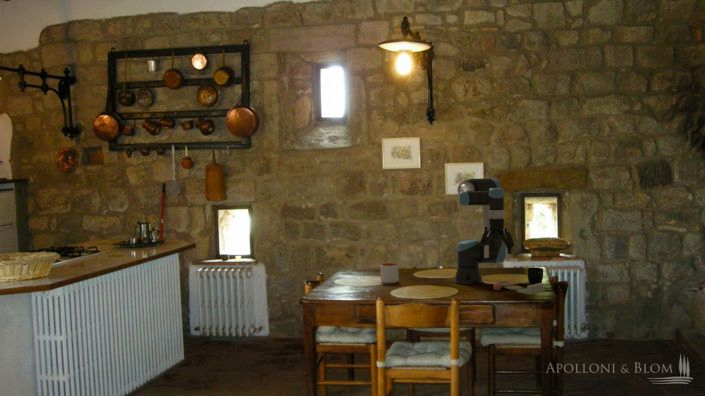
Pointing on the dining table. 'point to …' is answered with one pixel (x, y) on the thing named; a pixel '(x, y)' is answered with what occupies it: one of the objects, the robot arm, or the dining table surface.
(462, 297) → the dining table surface
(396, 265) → the cup
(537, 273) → the mug
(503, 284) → the ramp
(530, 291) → the stop block
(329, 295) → the dining table surface
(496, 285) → the ball
